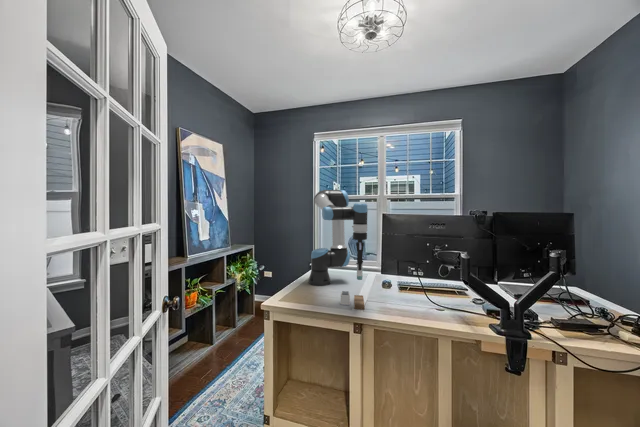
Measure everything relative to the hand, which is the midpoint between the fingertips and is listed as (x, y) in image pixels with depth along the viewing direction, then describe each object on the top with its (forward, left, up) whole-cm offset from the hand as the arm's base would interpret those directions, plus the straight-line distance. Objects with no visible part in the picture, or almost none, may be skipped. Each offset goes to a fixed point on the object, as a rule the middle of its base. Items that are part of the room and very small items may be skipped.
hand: (359, 275), depth 145 cm
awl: (0, 0, -2) cm, 2 cm away
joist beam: (0, 0, -16) cm, 16 cm away
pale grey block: (-1, -8, -16) cm, 18 cm away
